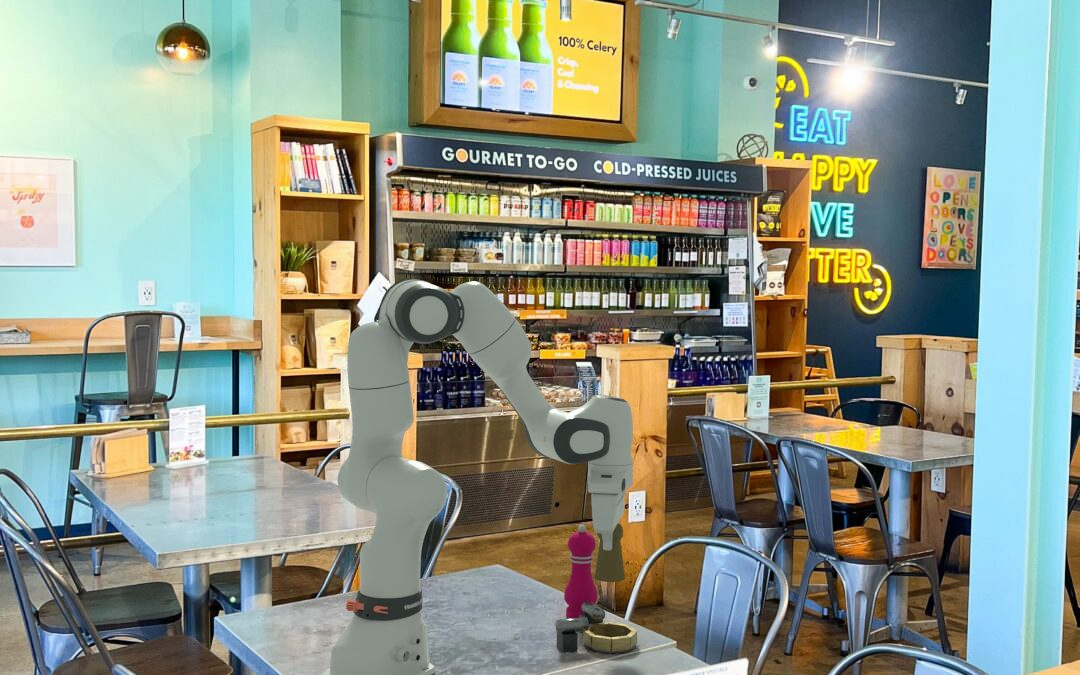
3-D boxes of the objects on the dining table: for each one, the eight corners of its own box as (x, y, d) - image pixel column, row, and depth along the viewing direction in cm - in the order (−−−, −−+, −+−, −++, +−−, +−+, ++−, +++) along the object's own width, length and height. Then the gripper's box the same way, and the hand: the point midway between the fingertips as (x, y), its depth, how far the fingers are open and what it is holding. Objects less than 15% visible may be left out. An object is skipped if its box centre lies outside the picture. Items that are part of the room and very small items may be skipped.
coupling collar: (626, 657, 201) (626, 641, 201) (575, 649, 205) (576, 634, 205) (642, 641, 211) (643, 626, 211) (594, 634, 215) (594, 619, 215)
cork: (610, 583, 204) (610, 527, 204) (588, 577, 209) (588, 522, 208) (631, 578, 208) (631, 523, 208) (609, 572, 213) (609, 518, 212)
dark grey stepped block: (560, 653, 203) (560, 623, 203) (554, 646, 207) (554, 616, 207) (589, 650, 205) (590, 620, 205) (582, 644, 209) (583, 614, 208)
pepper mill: (603, 615, 228) (605, 524, 227) (585, 624, 222) (587, 529, 221) (575, 609, 232) (576, 519, 231) (557, 617, 226) (558, 525, 225)
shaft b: (578, 629, 218) (578, 601, 217) (595, 627, 219) (596, 599, 219) (590, 638, 212) (590, 609, 212) (608, 636, 214) (608, 607, 213)
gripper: (601, 467, 218) (601, 533, 219) (586, 485, 198) (586, 558, 199) (632, 468, 217) (631, 534, 218) (620, 486, 197) (619, 559, 198)
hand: (609, 546), depth 208 cm, fingers closed on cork, 4 cm apart
